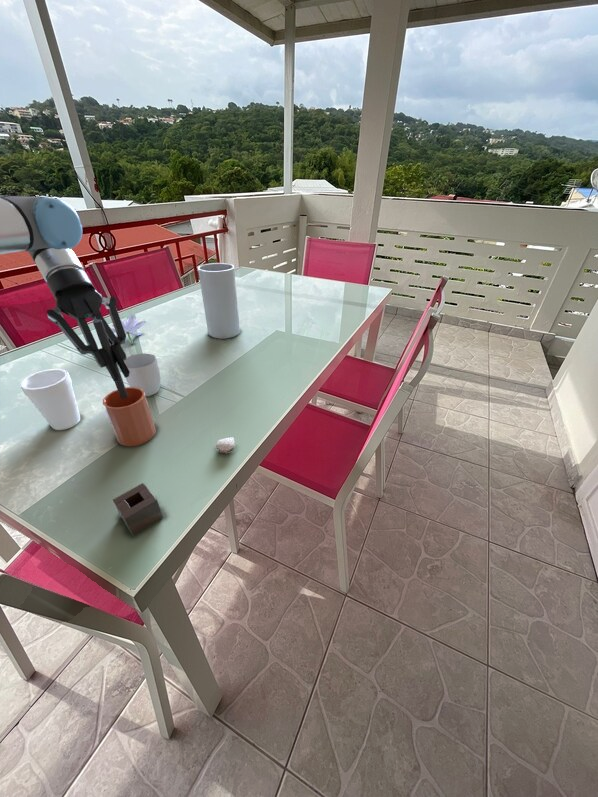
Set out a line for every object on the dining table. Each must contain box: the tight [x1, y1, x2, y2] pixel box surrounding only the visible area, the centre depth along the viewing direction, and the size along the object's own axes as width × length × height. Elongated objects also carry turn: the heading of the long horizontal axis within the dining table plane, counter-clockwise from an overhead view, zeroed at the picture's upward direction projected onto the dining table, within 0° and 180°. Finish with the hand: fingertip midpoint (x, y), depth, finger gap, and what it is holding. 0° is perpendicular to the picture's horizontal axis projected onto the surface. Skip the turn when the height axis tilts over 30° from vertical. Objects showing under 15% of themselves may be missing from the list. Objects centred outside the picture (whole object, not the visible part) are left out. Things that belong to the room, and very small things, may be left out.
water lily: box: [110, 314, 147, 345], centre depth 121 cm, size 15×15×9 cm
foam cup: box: [19, 368, 81, 431], centre depth 80 cm, size 10×9×13 cm
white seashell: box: [215, 437, 236, 454], centre depth 76 cm, size 4×5×2 cm
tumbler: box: [102, 386, 157, 447], centre depth 77 cm, size 9×9×11 cm
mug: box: [124, 352, 162, 397], centre depth 95 cm, size 13×9×10 cm
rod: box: [92, 319, 128, 399], centre depth 69 cm, size 2×2×18 cm
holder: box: [112, 482, 164, 537], centre depth 60 cm, size 6×6×5 cm
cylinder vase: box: [197, 262, 241, 340], centre depth 124 cm, size 12×12×25 cm
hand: (121, 376), depth 68 cm, fingers closed on rod, 1 cm apart
